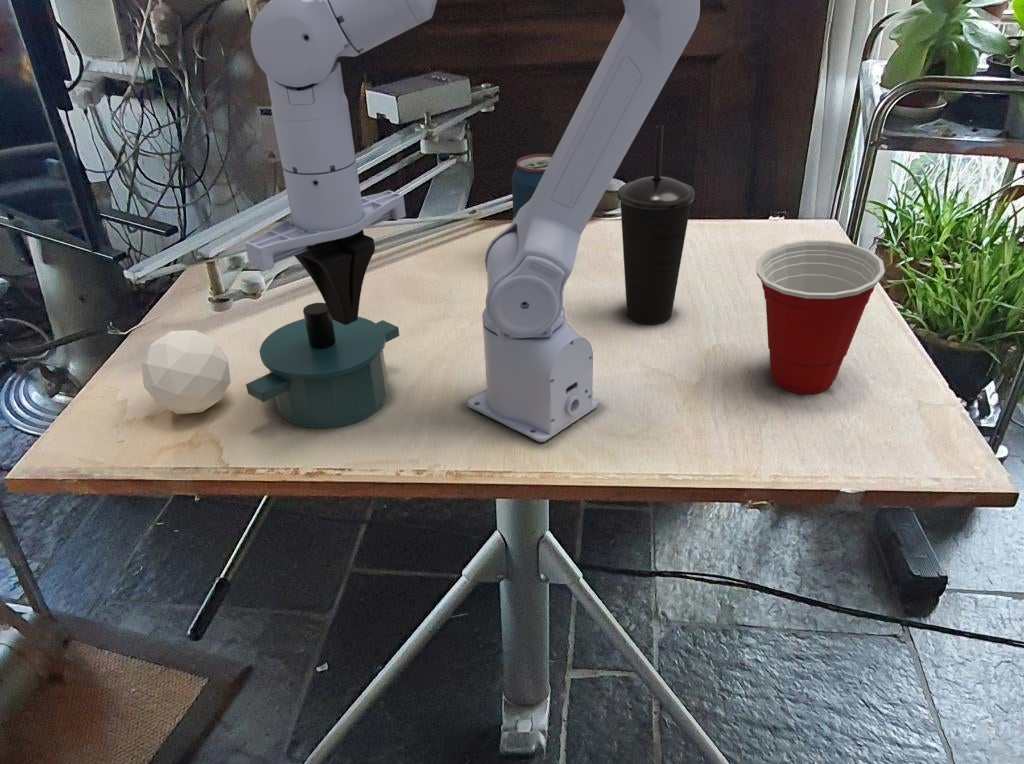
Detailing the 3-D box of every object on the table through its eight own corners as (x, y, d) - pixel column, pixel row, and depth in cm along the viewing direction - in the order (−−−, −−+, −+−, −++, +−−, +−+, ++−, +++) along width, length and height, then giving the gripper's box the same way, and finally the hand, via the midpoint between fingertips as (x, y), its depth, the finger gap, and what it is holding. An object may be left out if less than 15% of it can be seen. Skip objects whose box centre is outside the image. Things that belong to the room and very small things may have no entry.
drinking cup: (665, 294, 101) (677, 111, 89) (697, 323, 95) (715, 131, 83) (602, 305, 99) (607, 120, 87) (631, 336, 93) (640, 142, 81)
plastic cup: (719, 364, 88) (732, 249, 81) (813, 342, 90) (833, 230, 84) (783, 420, 79) (803, 297, 72) (884, 395, 82) (913, 274, 75)
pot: (430, 382, 87) (425, 332, 84) (297, 455, 78) (286, 402, 75) (363, 349, 93) (356, 301, 90) (232, 413, 84) (219, 362, 80)
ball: (181, 437, 86) (110, 384, 82) (224, 374, 89) (158, 321, 85) (216, 426, 80) (141, 369, 76) (261, 360, 84) (192, 302, 80)
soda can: (556, 243, 114) (555, 148, 107) (580, 263, 109) (581, 164, 102) (506, 253, 112) (501, 157, 105) (528, 274, 106) (525, 174, 99)
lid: (411, 348, 82) (406, 303, 80) (311, 399, 76) (302, 352, 73) (335, 313, 89) (328, 270, 86) (237, 357, 82) (226, 312, 80)
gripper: (359, 131, 76) (379, 279, 84) (210, 177, 68) (247, 336, 75) (414, 146, 72) (430, 300, 80) (262, 197, 64) (296, 362, 71)
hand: (344, 319), depth 77 cm, fingers closed
